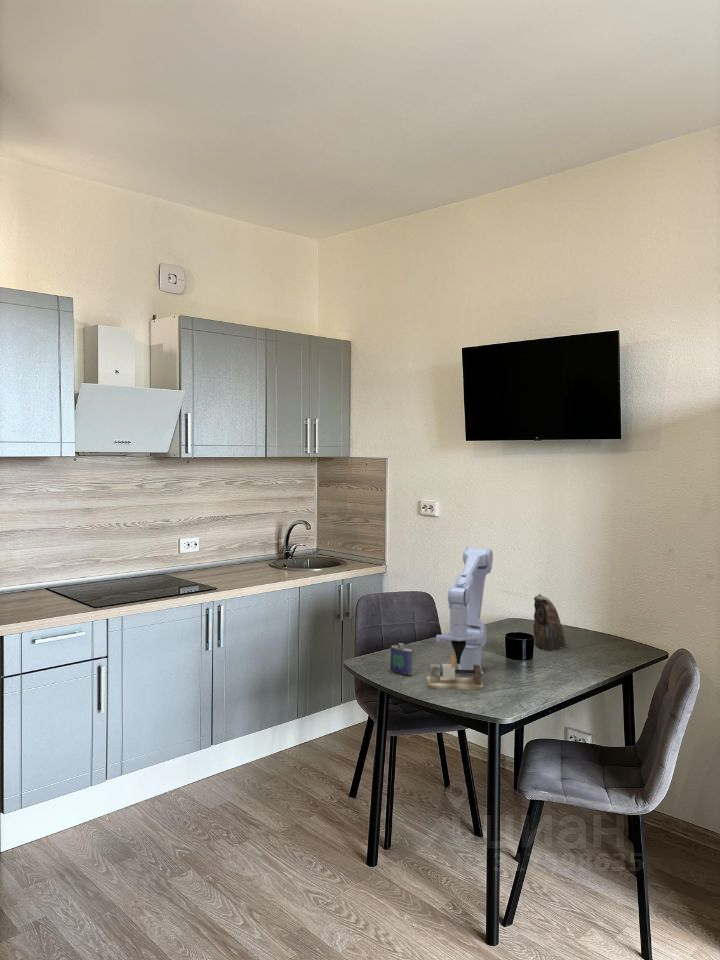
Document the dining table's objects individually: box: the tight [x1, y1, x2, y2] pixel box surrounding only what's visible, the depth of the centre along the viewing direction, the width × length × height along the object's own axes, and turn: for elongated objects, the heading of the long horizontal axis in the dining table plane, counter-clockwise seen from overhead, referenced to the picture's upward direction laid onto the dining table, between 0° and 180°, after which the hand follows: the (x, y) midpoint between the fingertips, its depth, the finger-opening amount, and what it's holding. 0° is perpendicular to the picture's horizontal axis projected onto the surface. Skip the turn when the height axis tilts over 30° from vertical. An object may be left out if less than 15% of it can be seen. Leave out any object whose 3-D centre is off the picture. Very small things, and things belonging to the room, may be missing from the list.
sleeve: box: [441, 651, 456, 679], centre depth 245 cm, size 4×4×8 cm
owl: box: [532, 593, 566, 652], centre depth 293 cm, size 13×13×20 cm
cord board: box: [426, 663, 484, 691], centre depth 245 cm, size 18×9×6 cm, turn 87°
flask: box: [389, 642, 413, 677], centre depth 257 cm, size 9×3×11 cm, turn 47°
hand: (458, 662), depth 245 cm, fingers closed
